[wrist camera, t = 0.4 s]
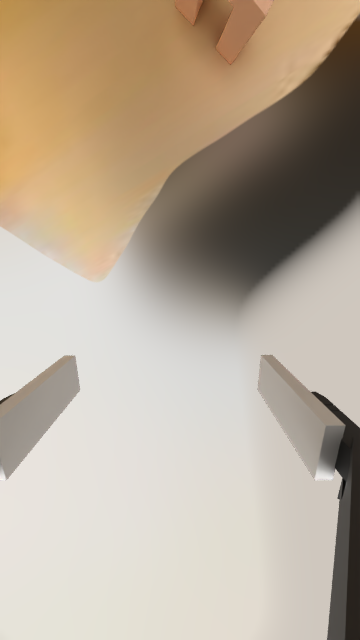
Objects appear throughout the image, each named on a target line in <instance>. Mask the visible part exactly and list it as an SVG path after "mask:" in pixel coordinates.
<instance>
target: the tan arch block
mask: <svg viewBox="0 0 360 640" xmlns="http://www.w3.org/2000/svg"><path fill="white" fill-rule="evenodd" d="M228 1H229V3H230V4H231V5H232V6H233V10H232V12H231V14H230V17H229V19H228V21H227V23H226V26H225V28H224V30H223V33H222V35H221V37H220V40H219V42H218V44H217V46H216V50H217V51H218V52H219V53H220V54H221V55H222V56H223V57H224V58H225V59H226V60H227V61H228V62H229V63H230V65H231V64H232V62H233V61H234V60H235V58H236V57H237V55H238V54H239V53H240V51H241V50H242V48H243V47H244V46H245V44H246V43H247V42H248V40H249V39H250V37H251V36H252V35H253V33H254V32H255V30H256V29H257V28H258V26H259V25H260V24H261V22H262V21H263V19H264V18H265V17H266V15H267V13H268V11H269V9H270V7H271V5H272V3H273V1H274V0H228ZM202 2H203V0H176V3H175V7H176V8H177V9H178V10H179V11H180V12H181V13H182V14H183V15H184V16H185V18H186V19H187V20H188V21H189V22H190V23H191V24H192V25H193V26H194V23H195V20H196V18H197V15H198V12H199V10H200V7H201V4H202Z"/></svg>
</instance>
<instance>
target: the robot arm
mask: <svg viewBox="0 0 360 640" xmlns="http://www.w3.org/2000/svg"><path fill="white" fill-rule="evenodd" d="M79 390H80V386H79V379H78V372H77V365H76V358H75V356H63V357H62V358H61V359H59V360H58V361H57V362H55V363H54V364H53V365H51V366H50V367H49V368H48V369H46V370H45V371H44V372H42V373H41V374H40V375H39V376H37V377H36V378H34V379H33V380H32V381H31V382H29V383H28V384H27V385H25V386H24V387H23V388H22V389H20V390H19V391H18V392H16V393H14V394H12V395H10V396H8V397H6V398H4V399H2V400H1V401H0V480H7V479H8V478H9V476H10V475H11V474H12V473H13V472H14V470H15V469H16V468H17V467H18V466H19V464H20V463H21V462H22V461H23V459H24V458H25V457H26V456H27V454H28V453H29V452H30V451H31V450H32V448H33V447H34V446H35V445H36V443H37V442H38V441H39V440H40V439H41V437H42V436H43V435H44V434H45V432H46V431H47V430H48V429H49V428H50V426H51V425H52V424H53V422H54V421H55V420H56V419H57V418H58V416H59V415H60V414H61V413H62V412H63V410H64V409H65V408H66V407H67V405H68V404H69V403H70V402H71V401H72V399H73V398H74V397H75V396H76V394H77V393H78V392H79ZM258 391H259V393H260V394H261V396H262V397H263V399H264V401H265V402H266V404H267V405H268V407H269V408H270V410H271V412H272V413H273V415H274V416H275V418H276V420H277V421H278V423H279V424H280V426H281V428H282V429H283V430H284V432H285V434H286V435H287V437H288V439H289V440H290V442H291V443H292V445H293V447H294V448H295V450H296V451H297V453H298V454H299V456H300V458H301V459H302V461H303V462H304V464H305V466H306V467H307V469H308V470H309V472H310V473H311V475H312V477H313V478H314V480H333V476H334V472H335V468H336V470H337V471H338V472H339V474H340V475H341V476H342V482H341V486H340V490H339V494H338V499H340V501H339V512H338V524H337V535H336V546H335V558H334V569H333V580H332V592H331V603H330V614H329V626H328V638H327V640H360V428H359V427H358V426H357V425H356V424H355V423H354V422H352V421H351V420H350V419H349V418H348V417H347V416H346V415H345V414H343V412H341V411H340V410H339V409H338V408H337V407H336V406H334V405H333V404H332V403H331V402H330V401H329V400H328V399H327V398H326V397H324V396H322V395H320V394H319V393H317V392H310V391H309V390H308V389H307V388H306V387H305V386H304V385H303V384H302V383H301V382H300V381H299V380H297V379H296V378H295V377H294V376H293V375H292V374H291V373H290V372H289V371H288V370H287V369H286V368H285V367H284V366H283V365H282V364H281V363H280V362H279V361H278V360H277V359H276V358H275V357H274V356H273V355H261V361H260V371H259V381H258Z"/></svg>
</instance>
